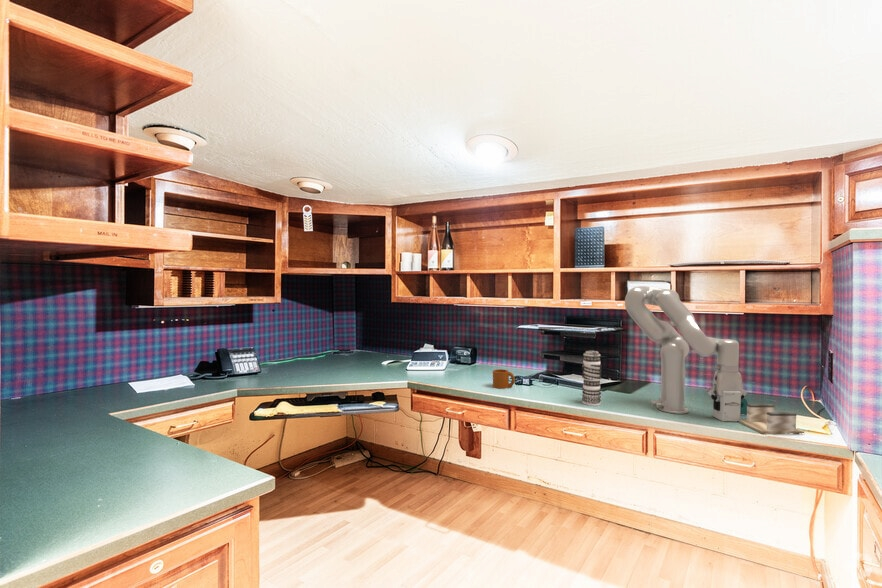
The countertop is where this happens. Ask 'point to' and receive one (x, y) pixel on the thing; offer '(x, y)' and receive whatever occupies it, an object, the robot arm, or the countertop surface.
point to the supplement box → (729, 406)
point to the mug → (502, 379)
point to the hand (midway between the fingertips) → (726, 409)
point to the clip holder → (770, 420)
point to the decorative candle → (591, 378)
